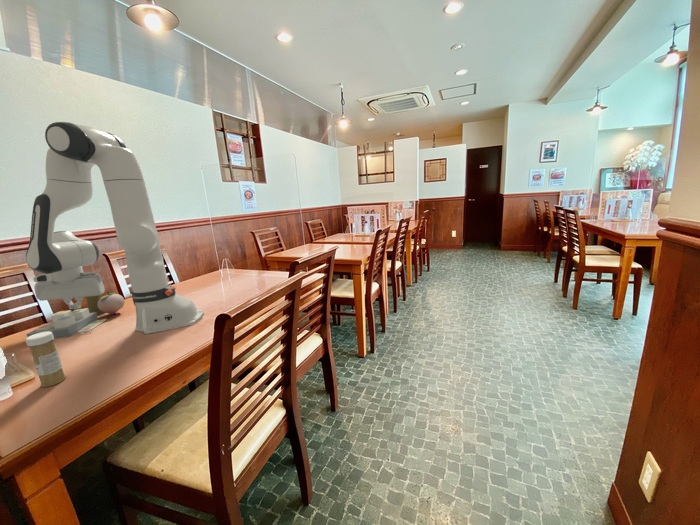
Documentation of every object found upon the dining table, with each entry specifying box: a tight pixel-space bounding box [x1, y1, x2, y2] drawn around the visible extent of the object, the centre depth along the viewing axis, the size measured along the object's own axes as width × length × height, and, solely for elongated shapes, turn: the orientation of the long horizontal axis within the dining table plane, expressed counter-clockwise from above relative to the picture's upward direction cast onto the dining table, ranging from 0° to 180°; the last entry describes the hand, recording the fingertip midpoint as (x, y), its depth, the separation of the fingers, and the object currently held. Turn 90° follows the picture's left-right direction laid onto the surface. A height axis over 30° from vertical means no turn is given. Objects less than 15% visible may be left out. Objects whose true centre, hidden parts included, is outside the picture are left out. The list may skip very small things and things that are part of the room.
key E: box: [69, 308, 90, 319], centre depth 109 cm, size 4×4×4 cm
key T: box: [34, 323, 54, 331], centre depth 100 cm, size 4×4×4 cm
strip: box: [76, 318, 108, 334], centre depth 107 cm, size 4×11×1 cm, turn 14°
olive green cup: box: [84, 295, 104, 317], centre depth 119 cm, size 6×6×11 cm
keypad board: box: [26, 312, 99, 339], centre depth 105 cm, size 12×16×3 cm
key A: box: [50, 309, 72, 321], centre depth 107 cm, size 4×4×4 cm
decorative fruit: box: [97, 291, 125, 315], centre depth 118 cm, size 9×8×10 cm
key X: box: [53, 316, 76, 329], centre depth 101 cm, size 4×4×4 cm
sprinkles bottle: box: [25, 331, 67, 388], centre depth 70 cm, size 5×5×14 cm
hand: (75, 308), depth 108 cm, fingers closed
